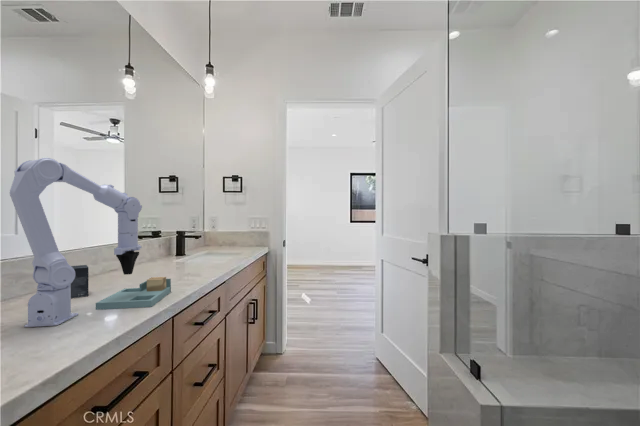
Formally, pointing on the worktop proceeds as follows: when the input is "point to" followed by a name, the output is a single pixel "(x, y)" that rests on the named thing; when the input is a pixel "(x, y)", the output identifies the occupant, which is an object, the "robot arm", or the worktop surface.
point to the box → (80, 282)
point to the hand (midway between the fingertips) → (127, 274)
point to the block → (156, 284)
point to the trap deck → (134, 297)
